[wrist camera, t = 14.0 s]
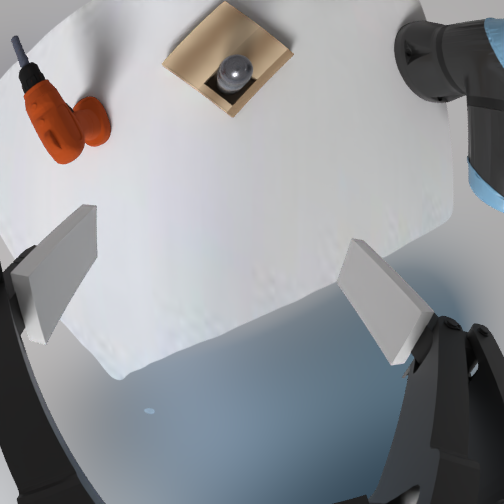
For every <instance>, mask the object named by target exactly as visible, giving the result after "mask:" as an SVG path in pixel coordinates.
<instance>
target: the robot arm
mask: <svg viewBox="0 0 504 504" xmlns="http://www.w3.org/2000/svg"><path fill="white" fill-rule="evenodd" d="M395 58H396V63H397V66H398V69H399V71H400V74H401V76H402V77H403V79H404V81H405V82H406V84H407V85H408V87H409V88H410V89H411V90H412V91H413V92H414V93H415V94H416V95H418V96H419V97H420V98H422V99H424V100H426V101H429V102H437V103H445V102H450V101H452V100H455V99H457V98H459V97H462V96H465V95H466V96H467V111H468V156H467V162H468V164H469V184H470V186H471V188H472V190H473V192H474V193H475V195H476V196H477V197H478V198H480V199H481V200H482V201H483V202H485V203H486V204H488V205H489V206H491V207H492V208H494V209H496V210H498V211H500V212H503V213H504V19H495V18H486V19H483V20H476V21H469V22H463V23H456V24H451V25H443V24H438V23H433V22H428V21H417V22H413V23H409V24H407V25H405V26H404V27H402V28H401V29H400V31H399V32H398V34H397V37H396V40H395ZM96 258H97V206H94V205H84V204H83V205H82V206H80V207H79V208H78V209H77V210H76V211H74V212H73V213H72V214H71V215H70V216H69V217H68V218H66V219H65V220H64V221H63V222H62V223H61V224H60V225H59V226H57V227H56V228H55V229H54V230H53V231H52V232H51V233H50V234H49V235H48V236H47V237H46V238H45V239H44V240H42V241H41V242H40V243H39V244H38V245H34V246H32V247H30V248H28V249H26V250H25V251H24V252H23V253H21V254H20V255H19V257H18V258H16V259H15V260H14V262H13V263H12V264H11V265H10V266H9V267H8V268H7V269H6V270H5V271H4V272H2V268H1V263H0V447H1V449H2V452H3V455H4V457H5V460H6V462H7V465H8V467H9V470H10V472H11V474H12V477H13V479H14V481H15V483H16V485H17V488H18V490H19V496H18V498H17V502H18V504H105V502H104V501H103V500H102V499H101V497H100V496H99V495H98V493H97V492H96V490H95V489H94V487H93V486H92V484H91V483H90V482H89V480H88V479H87V477H86V476H85V474H84V472H83V471H82V469H81V468H80V466H79V465H78V463H77V462H76V460H75V458H74V456H73V455H72V453H71V451H70V450H69V448H68V446H67V444H66V442H65V441H64V439H63V437H62V435H61V433H60V431H59V429H58V427H57V426H56V423H55V421H54V419H53V417H52V415H51V413H50V411H49V409H48V407H47V404H46V402H45V400H44V398H43V395H42V393H41V391H40V388H39V386H38V383H37V381H36V379H35V376H34V373H33V370H32V368H31V365H30V362H29V360H28V357H27V353H26V350H25V347H24V344H23V341H22V338H21V333H22V332H23V330H24V329H26V332H27V335H28V338H29V340H30V341H33V342H37V343H41V344H45V345H46V344H47V342H48V340H49V338H50V336H51V334H52V332H53V331H54V329H55V327H56V325H57V323H58V321H59V319H60V318H61V316H62V314H63V312H64V311H65V309H66V307H67V305H68V304H69V302H70V300H71V298H72V297H73V295H74V293H75V292H76V290H77V288H78V287H79V285H80V283H81V282H82V280H83V279H84V277H85V275H86V274H87V272H88V271H89V269H90V267H91V266H92V264H93V263H94V261H95V260H96ZM337 284H338V285H339V287H340V288H341V289H342V291H343V293H344V294H345V295H346V297H347V298H348V300H349V301H350V303H351V304H352V306H353V307H354V309H355V310H356V312H357V313H358V315H359V316H360V318H361V319H362V321H363V322H364V324H365V325H366V327H367V329H368V330H369V332H370V333H371V335H372V336H373V338H374V339H375V341H376V342H377V344H378V345H379V347H380V349H381V350H382V352H383V353H384V355H385V357H386V358H387V360H388V361H389V363H390V365H397V364H403V363H405V361H406V359H407V358H408V356H409V355H410V353H412V355H413V356H414V360H413V361H412V363H411V364H410V366H409V368H408V369H407V370H406V372H405V373H404V375H403V377H402V378H405V376H406V375H408V379H407V380H408V381H407V386H406V390H405V396H404V400H403V404H402V409H401V413H400V417H399V421H398V424H397V428H396V432H395V435H394V439H393V442H392V445H391V449H390V452H389V455H388V458H387V461H386V464H385V467H384V470H383V473H382V476H381V479H380V481H379V484H378V487H377V488H376V490H375V492H374V493H373V495H372V496H371V497H370V498H369V499H367V496H366V495H363V496H360V497H357V498H353V499H349V500H346V501H342V502H338V503H334V504H504V357H503V355H502V353H501V351H500V349H499V347H498V345H497V343H496V341H495V339H494V337H493V335H492V334H491V332H490V331H489V330H488V328H487V327H485V326H483V325H480V324H473V325H472V327H471V329H470V330H469V332H465V331H463V330H462V327H461V326H460V325H459V324H458V323H457V322H456V321H455V320H454V319H451V318H449V317H446V316H441V317H438V316H437V315H436V314H435V313H434V311H433V310H432V309H431V308H430V307H429V305H428V304H427V303H426V302H425V301H424V300H423V299H422V298H421V297H420V296H419V295H418V294H417V293H416V292H415V291H414V290H413V289H412V288H411V287H410V286H409V285H408V284H407V283H406V281H405V280H404V279H403V278H401V276H399V275H398V273H397V272H396V271H394V269H393V268H392V267H391V266H390V265H389V264H387V263H386V262H385V261H384V260H383V259H382V258H381V257H380V256H379V255H378V254H377V253H376V252H375V251H374V250H373V249H372V248H371V247H370V246H369V245H368V244H367V243H366V242H365V241H364V240H358V239H351V242H350V245H349V248H348V251H347V254H346V257H345V260H344V263H343V266H342V268H341V271H340V274H339V277H338V280H337ZM477 363H478V370H477V371H476V373H475V374H474V375H473V376H471V374H470V372H471V371H472V370H473V368H474V367H475V365H476V364H477Z"/></svg>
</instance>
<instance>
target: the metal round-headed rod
mask: <svg viewBox="0 0 504 504" xmlns="http://www.w3.org/2000/svg"><path fill="white" fill-rule="evenodd" d="M252 74H253V65H252V63H251V61H250V60H249V59H248V58H247V57H245V56H243V55H239V54H234V55H230V56H228V57H226V58H225V59H224V60H223V61H222V62H221V64H220V66H219V68H218V75H217V82H216V85H217V88H218V90H219V91H220V92H221V93H223V94H225V95H232V94H235V93H237V92H238V91H239V90H240V89H241V88H242V87H243V86H244V85H245V84H246V83H247V82H248V81H249V80H250V79H251V77H252Z"/></svg>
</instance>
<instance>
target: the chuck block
mask: <svg viewBox="0 0 504 504" xmlns="http://www.w3.org/2000/svg"><path fill="white" fill-rule="evenodd" d="M234 54H239V55H243V56H245V57H247V58H248V59H249V60H250V61H251V63H252V65H253V74H252V77H251V79H250V80H249V81H248V82H247V83H246V84H245V85H244V86H243V87H242V88H241V89H240V90H239V91H238V92H237V93H235V94H232V95H225V94H223V93H221V92H220V91H219V90H218V88H217V85H216V82H217V75H218V68H219V66H220V64H221V62H222V61H223V60H224V59H225V58H226V57H228V56H230V55H234ZM293 55H294V54H293V53H292V52H291V51H290V50H289V49H288V48H286V47H285V46H284V45H283V44H282V43H280V42H279V41H278V40H277V39H276V38H274V37H273V36H272V35H271V34H269V33H268V32H267V31H266V30H264V29H263V28H262V27H261V26H259V25H258V24H257V23H255V22H254V21H253V20H251V19H250V18H249V17H247V16H246V15H244V14H243V13H242V12H240V11H239V10H237V9H236V8H235V7H233V6H232V5H230V4H229V3H227V2H226V1H224V2H223V3H222V4H221V5H219V6H218V7H217V8H216V9H215V10H214V11H213V12H212V13H211V14H209V15H208V16H207V17H206V18H205V19H204V20H203V21H202V22H201V23H200V24H199V25H198V26H197V27H196V28H195V29H194V30H193V31H192V32H191V33H190V34H189V35H188V36H187V37H186V38H185V39H184V40H183V41H182V42H181V43H180V44H179V45H178V46H177V47H176V48H175V50H174V51H173V52H172V53H171V54H170V55H169V56H168V57H167V58H166V60H165V61H164V62H163V63H162V65H163V66H164V67H165V68H166V69H168V70H169V71H171V72H172V73H174V74H175V75H176V76H178V77H179V78H181V79H182V80H183V81H185V82H186V83H188V84H189V85H190V86H192V87H193V88H194V89H196V90H197V91H198V92H200V93H201V94H202V95H204V96H205V97H206V98H208V99H209V100H210V101H212V102H213V103H214V104H215V105H217V106H218V107H219V108H221V109H222V110H223V111H224V112H226V113H227V114H228V115H229V116H231V117H233V118H234V116H235V115H236V114H237V113H238V112H239V111H240V110H241V109H242V108H243V106H244V105H245V104H246V103H247V102H248V101H249V100H250V99H251V98H252V97H253V96H254V95H255V93H256V92H257V91H258V90H259V89H260V88H261V87H262V86H263V85H264V84H265V83H266V82H267V81H268V80H269V79H270V78H271V77H272V76H273V75H274V74H275V73H276V72H277V71H278V70H279V69H280V68H281V67H282V66H283V65H284V64H285V63H286V62H287V61H288V60H289V59H290V58H291V57H292V56H293Z"/></svg>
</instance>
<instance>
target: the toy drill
mask: <svg viewBox="0 0 504 504" xmlns="http://www.w3.org/2000/svg"><path fill="white" fill-rule="evenodd" d="M11 42H12V43H13V47H14V49H15V52H16V55H17V57H18V61H19V64H20V67H22V69H21V70H20V72H19V79H20V81H21V84H22V89H23V91H24V93H25V95H24V99H25V106H26V111H27V113H28V115H29V118H30V120H31V122H32V124H33V126H34V128H35V130H36V132H37V134H38V136H39V138H40V140H41V141H42V143H43V145H44V147H45V148H46V150H47V151H48V153H49V154H50V155H51V156H52V157H53V159H54V160H55V161H56V162H57V163H59V164H67V163H70V162H72V161H73V160H75V159H76V158H77V157H78V156H79V155H80V154H81V152H82V150H83V148H84V145H85V143H86V144H87V145H90V146H94V147H96V146H99V145H102V144H103V143H105V142H106V141H107V140H108V139H109V137H110V133H111V126H110V122H109V119H108V116H107V113H106V111H105V109H104V107H103V105H102V104H101V102H100V101H99V100H98V99H96V98H95V97H91V96H89V97H86V98H83V99H82V100H80V101H79V102H78V103H77V104H76V105H75V106H74V108H73V110H72V108H71V107H70V106H69V105H68V104H67V103H65V102H64V100H63V99H62V97H61V96H60V94H59V92H58V91H57V89H56V88H55V87H54V86H53V85H52V84H51V83H50V82H49V80H46V79H45V77H44V75H43V73H41V72H40V70H39V67H38V65H37V64H35V63H33V62H31V63H29V61H28V57H27V56H26V54H25V52H24V50H23V49H22V45H21V43H20V40H19V38H18V36H14V37H13V38H12V39H11Z"/></svg>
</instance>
